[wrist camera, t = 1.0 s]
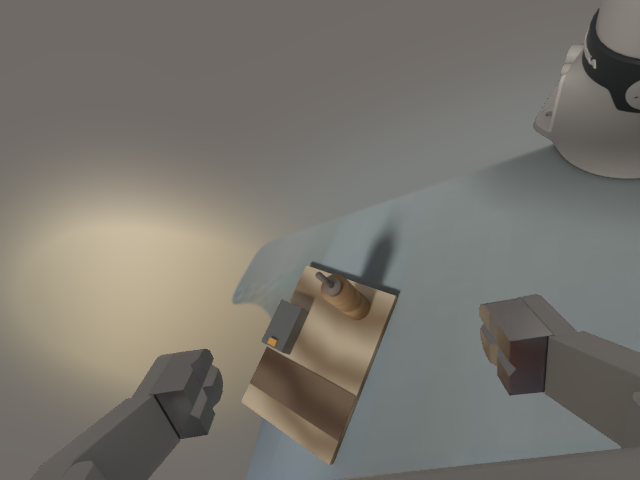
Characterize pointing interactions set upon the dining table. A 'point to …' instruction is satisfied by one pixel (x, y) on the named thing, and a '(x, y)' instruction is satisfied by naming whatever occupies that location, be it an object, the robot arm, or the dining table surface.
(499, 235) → the dining table surface
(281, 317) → the block
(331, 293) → the awl
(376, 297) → the subfloor panel
